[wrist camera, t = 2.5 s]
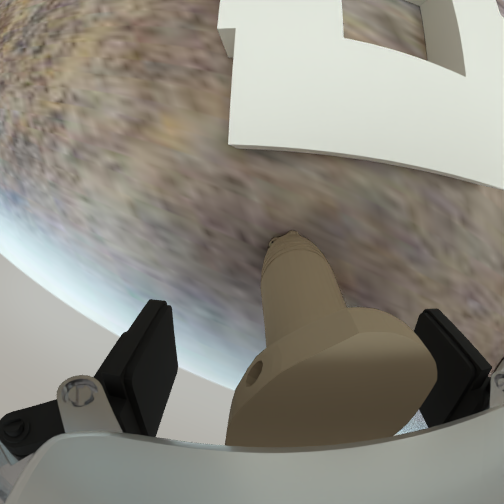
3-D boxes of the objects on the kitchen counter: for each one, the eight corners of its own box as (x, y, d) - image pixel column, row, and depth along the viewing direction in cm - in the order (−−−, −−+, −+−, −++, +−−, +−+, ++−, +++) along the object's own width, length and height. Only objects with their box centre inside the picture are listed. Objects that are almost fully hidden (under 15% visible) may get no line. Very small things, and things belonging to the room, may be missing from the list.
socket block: (484, 186, 18) (522, 195, 13) (222, 148, 18) (208, 143, 14) (463, -15, 11) (488, -32, 6) (242, -70, 12) (237, -103, 7)
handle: (236, 268, 21) (192, 448, 7) (287, 195, 19) (349, 294, 5) (289, 301, 22) (314, 485, 8) (341, 234, 20) (461, 374, 6)
